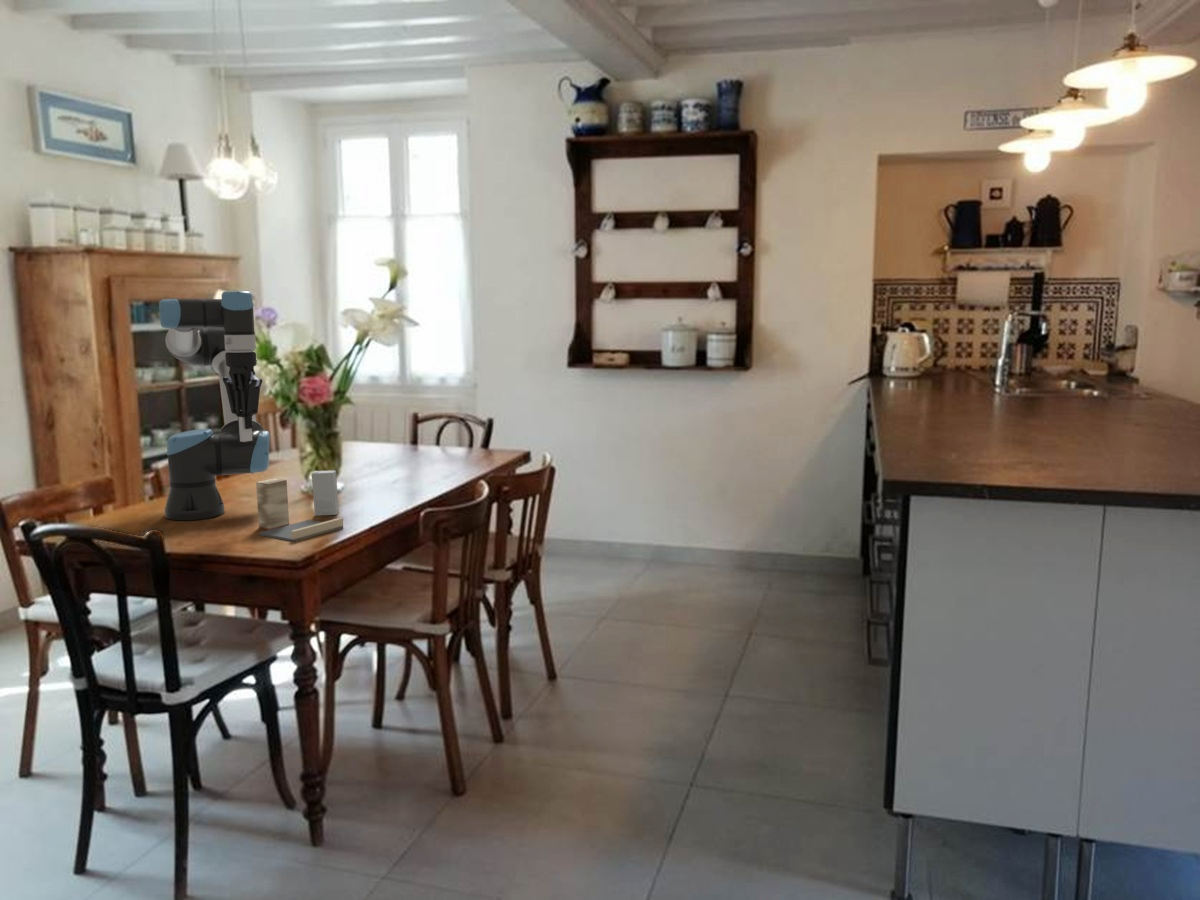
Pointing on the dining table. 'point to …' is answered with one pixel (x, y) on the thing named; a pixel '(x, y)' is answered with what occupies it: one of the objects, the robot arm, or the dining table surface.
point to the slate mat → (304, 529)
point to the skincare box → (325, 493)
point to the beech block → (272, 503)
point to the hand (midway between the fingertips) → (246, 440)
